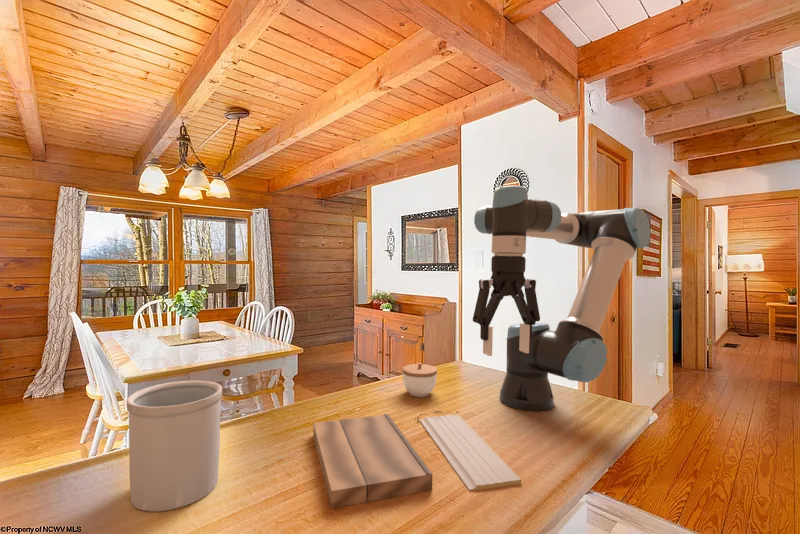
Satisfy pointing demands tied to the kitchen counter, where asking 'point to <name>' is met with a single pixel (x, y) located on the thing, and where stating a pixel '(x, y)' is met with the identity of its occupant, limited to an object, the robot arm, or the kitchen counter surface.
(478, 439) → the baseboard molding
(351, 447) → the grooved tan panel
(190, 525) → the kitchen counter surface
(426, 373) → the lidded jar
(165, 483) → the utensil holder
